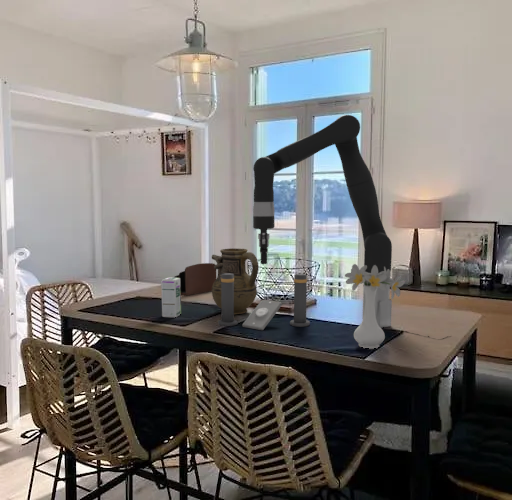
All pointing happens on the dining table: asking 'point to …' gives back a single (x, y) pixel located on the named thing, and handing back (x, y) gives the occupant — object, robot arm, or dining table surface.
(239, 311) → the decorative pitcher
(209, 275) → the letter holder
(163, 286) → the syrup box
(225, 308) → the post
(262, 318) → the light switch
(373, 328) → the flower vase
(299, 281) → the post
